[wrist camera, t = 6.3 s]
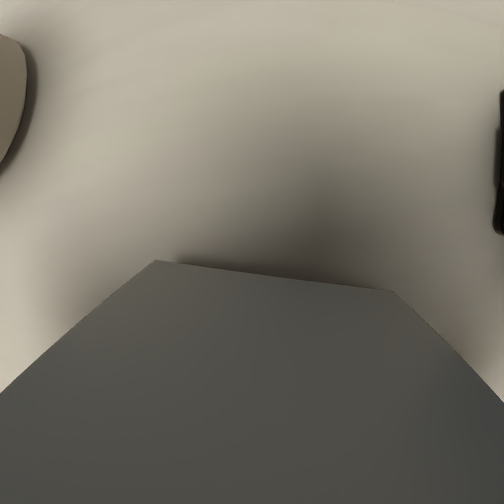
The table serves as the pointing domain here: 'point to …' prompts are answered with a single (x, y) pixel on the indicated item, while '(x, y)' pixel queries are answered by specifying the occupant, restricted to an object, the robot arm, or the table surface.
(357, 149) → the table surface
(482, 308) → the table surface
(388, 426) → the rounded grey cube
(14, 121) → the can
